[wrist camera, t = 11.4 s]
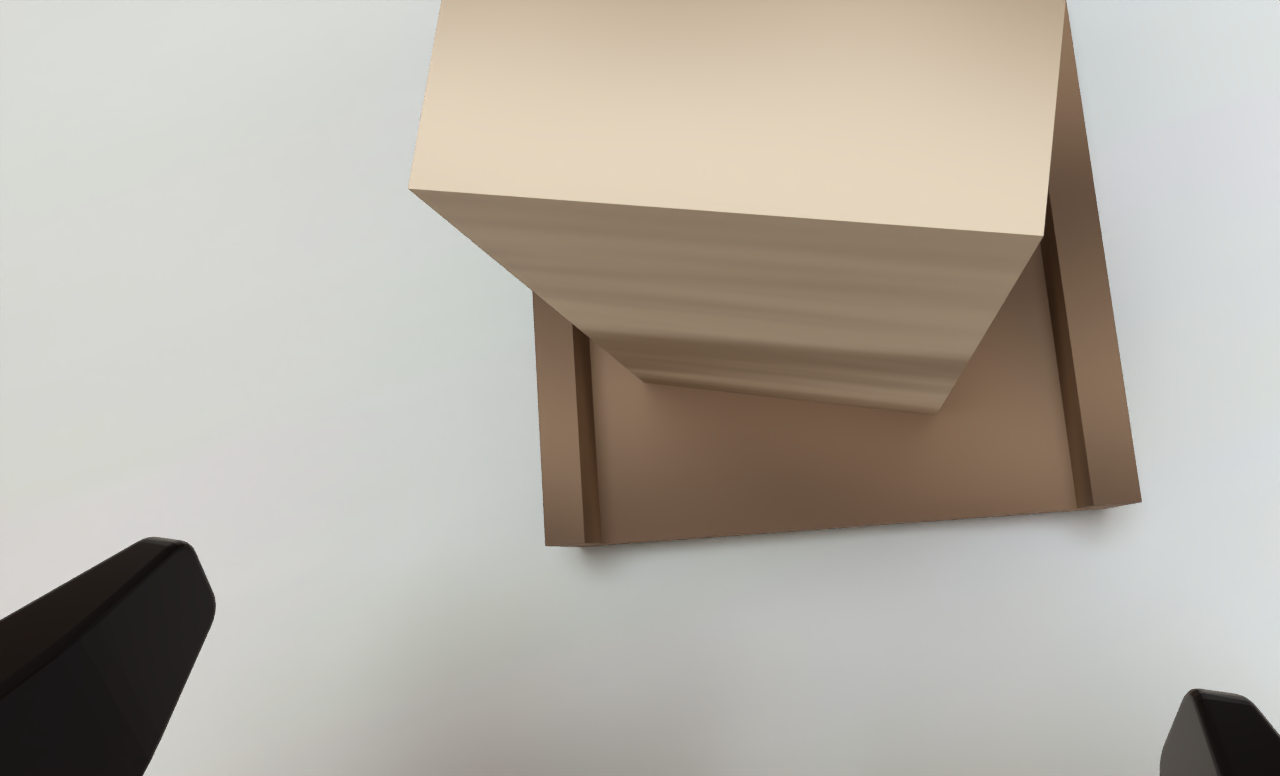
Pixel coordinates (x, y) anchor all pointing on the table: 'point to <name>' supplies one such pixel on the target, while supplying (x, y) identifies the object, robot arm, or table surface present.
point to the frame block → (753, 179)
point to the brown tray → (860, 414)
